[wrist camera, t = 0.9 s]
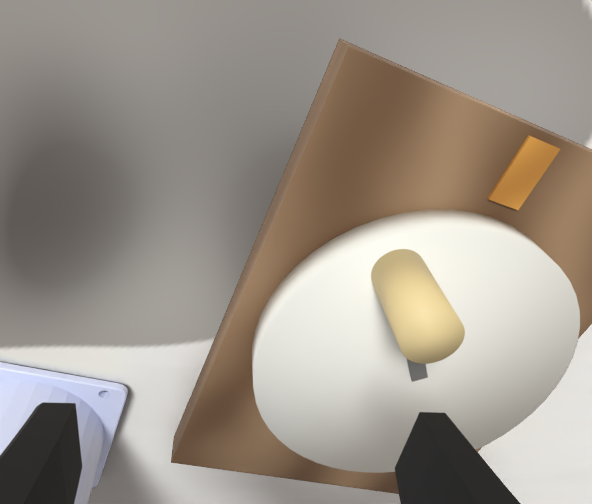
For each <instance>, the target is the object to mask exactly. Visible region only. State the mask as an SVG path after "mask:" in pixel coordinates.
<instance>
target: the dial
mask: <svg viewBox="0 0 592 504" xmlns="http://www.w3.org/2000/svg"><path fill="white" fill-rule="evenodd" d="M579 330H580V310H579V305H578V301H577V296H576V294H575V291H574V289H573V287H572V285H571V282H570V280H569V279H568V278H567V276H566V275H565V273H564V272H563V271H562V269H561V268H560V267H559V266H558V265H557V264H556V263H555V262H554V261H553V260H552V259H551V258H550V257H549V256H548V255H547V254H546V253H545V252H544V251H543V250H542V249H541V248H540V247H539V246H538V245H537V244H535V243H534V242H533V241H532V240H531V239H530V238H529V237H528V236H527V235H525V234H524V233H522V232H521V231H519V230H518V229H516V228H515V227H513V226H512V225H509V224H507V223H505V222H502V221H500V220H498V219H495V218H493V217H489V216H485V215H482V214H478V213H474V212H467V211H459V210H421V211H413V212H405V213H400V214H396V215H392V216H388V217H384V218H380V219H377V220H374V221H372V222H369V223H366V224H363V225H361V226H358V227H355V228H353V229H351V230H349V231H347V232H345V233H343V234H341V235H339V236H337V237H335V238H334V239H332V240H330V241H329V242H327V243H326V244H324V245H323V246H321V247H319V248H318V249H316V250H315V251H314V252H312V253H311V254H310V255H309V256H307V257H306V258H305V259H304V260H303V261H301V262H300V263H299V264H298V265H297V266H296V267H295V268H294V269H293V270H292V271H291V272H290V273H289V274H288V275H287V276H286V277H285V278H284V279H283V280H282V281H281V283H280V284H279V285H278V287H277V288H276V289H275V291H274V292H273V294H272V295H271V296H270V298H269V300H268V302H267V303H266V305H265V307H264V309H263V311H262V313H261V315H260V318H259V321H258V323H257V326H256V329H255V333H254V339H253V344H252V372H253V389H254V395H255V400H256V404H257V407H258V409H259V412H260V415H261V417H262V419H263V420H264V422H265V423H266V425H267V427H268V428H269V430H270V431H271V432H272V433H273V434H274V435H275V436H276V437H277V439H278V440H280V441H281V442H282V443H283V444H284V445H286V446H287V447H288V448H289V449H291V450H292V451H294V452H296V453H297V454H299V455H301V456H303V457H305V458H307V459H309V460H311V461H314V462H316V463H319V464H322V465H325V466H329V467H332V468H337V469H342V470H347V471H356V472H372V473H384V472H395V466H396V464H397V462H398V459H399V457H400V455H401V453H402V450H403V448H404V446H405V444H406V442H407V439H408V437H409V435H410V433H411V430H412V428H413V426H414V424H415V421H416V419H417V417H418V415H419V412H437V413H446V414H447V416H448V417H449V418H450V419H451V420H452V422H453V423H454V424H455V425H456V426H457V428H458V429H459V430H460V431H461V433H462V434H463V435H464V436H465V438H466V439H467V440H468V441H469V443H470V444H471V445H472V446H473V447H474V449H475V450H476V449H478V448H480V447H483V446H485V445H487V444H489V443H490V442H492V441H494V440H495V439H497V438H499V437H501V436H502V435H504V434H505V433H507V432H508V431H510V430H511V429H512V428H514V427H515V426H517V425H518V424H519V423H521V422H522V421H523V420H524V419H526V418H527V417H528V416H529V415H530V414H532V413H533V412H534V411H535V410H536V409H537V408H538V407H539V406H540V405H541V404H542V403H543V402H544V401H545V400H546V398H547V397H548V396H549V395H550V394H551V392H552V391H553V390H554V389H555V387H556V386H557V385H558V383H559V381H560V380H561V378H562V377H563V375H564V374H565V372H566V370H567V368H568V366H569V364H570V362H571V360H572V358H573V355H574V352H575V349H576V346H577V342H578V337H579Z"/></svg>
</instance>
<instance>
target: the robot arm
mask: <svg viewBox="0 0 592 504" xmlns="http://www.w3.org/2000/svg"><path fill="white" fill-rule="evenodd" d="M104 391H108V392H104ZM127 393H128V389H127V388H126V387H125V386H124V385H122V384H119V383H114V382H108V381H103V380H97V379H91V378H86V377H80V376H75V375H69V374H64V373H58V372H53V371H47V370H41V369H36V368H30V367H25V366H19V365H14V364H8V363H3V362H0V504H88V501H89V497H90V493H91V489H92V488H94V487H96V486H97V485H98V484H99V481H100V478H101V475H102V472H103V469H104V465H105V462H106V459H107V456H108V453H109V450H110V447H111V444H112V441H113V438H114V435H115V432H116V429H117V425H118V422H119V419H120V416H121V413H122V410H123V407H124V404H125V401H126V398H127ZM395 474H396V479H397V485H398V491H399V496H400V501H401V504H520V503H519V502H518V500H517V499H516V498H515V497H514V496H513V495H512V493H511V492H510V491H509V490H508V489H507V488H506V486H505V485H504V484H503V483H502V482H501V480H500V479H499V478H498V477H497V476H496V474H495V473H494V472H493V471H492V469H491V468H490V467H489V466H488V465H487V463H486V462H485V461H484V460H483V459H482V457H481V456H480V455H479V454H478V452H477V451H476V450H475V449H474V447H473V446H472V445H471V444H470V443H469V441H468V440H467V439H466V438H465V436H464V435H463V434H462V433H461V431H460V430H459V429H458V428H457V426H456V425H455V424H454V423H453V422H452V420H451V419H450V418H449V417H448V416H447V414H446V413H437V412H419V415H418V417H417V419H416V421H415V424H414V426H413V428H412V430H411V433H410V435H409V437H408V439H407V442H406V444H405V446H404V448H403V450H402V453H401V455H400V457H399V459H398V462H397V464H396V466H395Z"/></svg>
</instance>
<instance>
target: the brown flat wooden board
mask: <svg viewBox="0 0 592 504" xmlns="http://www.w3.org/2000/svg"><path fill="white" fill-rule="evenodd" d="M421 210H459V211H467V212H474V213H478V214H482V215H485V216H489V217H493V218H495V219H498V220H500V221H502V222H505V223H507V224H509V225H512V226H513V227H515V228H516V229H518V230H519V231H521V232H522V233H524V234H525V235H527V236H528V237H529V238H530V239H531V240H532V241H533V242H534V243H535V244H537V245H538V246H539V247H540V248H541V249H542V250H543V251H544V252H545V253H546V254H547V255H548V256H549V257H550V258H551V259H552V260H553V261H554V262H555V263H556V264H557V265H558V266H559V267H560V268H561V269H562V271H563V272H564V273H565V275H566V276H567V278H568V279H569V280H570V282H571V285H572V287H573V289H574V291H575V294H576V296H577V301H578V305H579V310H580V330H579V337H580V336H581V335H582V334H583V333H584V332H585V331H586V330H587V328H588V327H589V326H590V325H591V324H592V149H589V148H587V147H585V146H583V145H580V144H578V143H576V142H574V141H571V140H569V139H567V138H564V137H562V136H560V135H558V134H555V133H553V132H551V131H548V130H546V129H544V128H542V127H539V126H537V125H535V124H532V123H530V122H528V121H526V120H523V119H521V118H519V117H517V116H514V115H512V114H510V113H508V112H505V111H503V110H501V109H499V108H496V107H494V106H492V105H489V104H487V103H485V102H483V101H480V100H478V99H476V98H474V97H471V96H469V95H467V94H464V93H462V92H460V91H458V90H455V89H453V88H451V87H448V86H446V85H444V84H441V83H439V82H437V81H435V80H433V79H430V78H428V77H426V76H424V75H421V74H419V73H416V72H414V71H412V70H410V69H408V68H405V67H403V66H401V65H399V64H396V63H394V62H392V61H389V60H387V59H385V58H383V57H380V56H378V55H376V54H373V53H371V52H369V51H367V50H364V49H362V48H360V47H357V46H355V45H353V44H351V43H348V42H346V41H344V40H342V39H339V41H338V43H337V46H336V48H335V50H334V53H333V55H332V58H331V60H330V62H329V65H328V67H327V70H326V72H325V75H324V77H323V79H322V82H321V84H320V86H319V89H318V91H317V94H316V96H315V99H314V101H313V104H312V106H311V108H310V111H309V113H308V116H307V118H306V120H305V123H304V125H303V127H302V130H301V132H300V135H299V137H298V139H297V142H296V144H295V147H294V149H293V152H292V154H291V156H290V159H289V161H288V164H287V166H286V169H285V171H284V173H283V176H282V178H281V180H280V183H279V185H278V188H277V190H276V192H275V195H274V197H273V200H272V202H271V205H270V207H269V209H268V212H267V214H266V217H265V219H264V222H263V224H262V227H261V229H260V231H259V233H258V236H257V238H256V241H255V243H254V246H253V248H252V250H251V253H250V255H249V258H248V260H247V262H246V265H245V267H244V270H243V272H242V274H241V277H240V279H239V282H238V284H237V286H236V289H235V291H234V294H233V296H232V298H231V301H230V304H229V306H228V308H227V310H226V313H225V316H224V318H223V320H222V323H221V325H220V327H219V330H218V332H217V335H216V337H215V339H214V342H213V344H212V347H211V349H210V351H209V354H208V356H207V359H206V361H205V363H204V366H203V368H202V371H201V373H200V376H199V378H198V380H197V383H196V385H195V388H194V390H193V392H192V395H191V397H190V400H189V402H188V404H187V407H186V409H185V412H184V414H183V416H182V419H181V421H180V424H179V426H178V429H177V431H176V433H175V436H174V441H173V450H172V459H171V463H179V464H186V465H193V466H200V467H208V468H215V469H222V470H230V471H237V472H244V473H251V474H259V475H266V476H273V477H280V478H288V479H295V480H302V481H309V482H317V483H324V484H331V485H338V486H346V487H353V488H360V489H367V490H375V491H382V492H389V493H396V494H399V491H398V485H397V479H396V474H395V472H384V473H372V472H356V471H347V470H342V469H337V468H332V467H329V466H325V465H322V464H319V463H316V462H314V461H311V460H309V459H307V458H305V457H303V456H301V455H299V454H297V453H296V452H294V451H292V450H291V449H289V448H288V447H287V446H286V445H284V444H283V443H282V442H281V441H280V440H278V439H277V437H276V436H275V435H274V434H273V433H272V432H271V431H270V430H269V428H268V427H267V425H266V423H265V422H264V420H263V419H262V417H261V415H260V412H259V409H258V407H257V404H256V400H255V395H254V389H253V372H252V344H253V339H254V333H255V329H256V326H257V323H258V321H259V318H260V315H261V313H262V311H263V309H264V307H265V305H266V303H267V302H268V300H269V298H270V296H271V295H272V294H273V292H274V291H275V289H276V288H277V287H278V285H279V284H280V283H281V281H282V280H283V279H284V278H285V277H286V276H287V275H288V274H289V273H290V272H291V271H292V270H293V269H294V268H295V267H296V266H297V265H298V264H299V263H300V262H301V261H303V260H304V259H305V258H306V257H307V256H309V255H310V254H311V253H312V252H314V251H315V250H316V249H318V248H319V247H321V246H323V245H324V244H326V243H327V242H329V241H330V240H332V239H334V238H335V237H337V236H339V235H341V234H343V233H345V232H347V231H349V230H351V229H353V228H355V227H358V226H361V225H363V224H366V223H369V222H372V221H374V220H377V219H380V218H384V217H388V216H392V215H396V214H400V213H405V212H413V211H421ZM579 337H578V339H579ZM481 448H482V447H480V448H478V449H476V451H477V452H478V451H479V450H480V449H481Z"/></svg>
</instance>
